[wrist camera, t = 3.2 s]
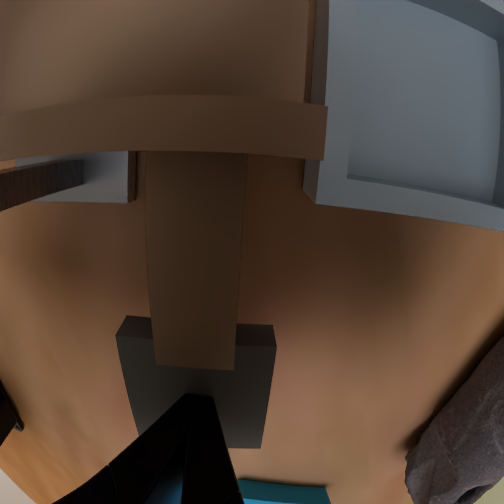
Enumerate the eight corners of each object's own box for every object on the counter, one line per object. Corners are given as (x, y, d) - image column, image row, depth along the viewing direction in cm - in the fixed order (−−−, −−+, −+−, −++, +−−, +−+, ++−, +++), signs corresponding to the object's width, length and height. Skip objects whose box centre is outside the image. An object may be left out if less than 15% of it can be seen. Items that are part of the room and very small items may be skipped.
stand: (27, 198, 12) (-67, 234, 6) (52, -13, 8) (-23, -50, 2) (135, 199, 12) (42, 247, 6) (162, -42, 8) (110, -120, 2)
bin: (302, 189, 11) (376, 275, 4) (315, -29, 8) (361, -163, 1) (492, 219, 11) (619, 287, 4) (499, 36, 8) (614, 8, 1)
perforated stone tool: (503, 286, 12) (585, 355, 6) (541, 305, 13) (605, 362, 6) (373, 464, 17) (393, 541, 11) (424, 462, 18) (447, 528, 11)
